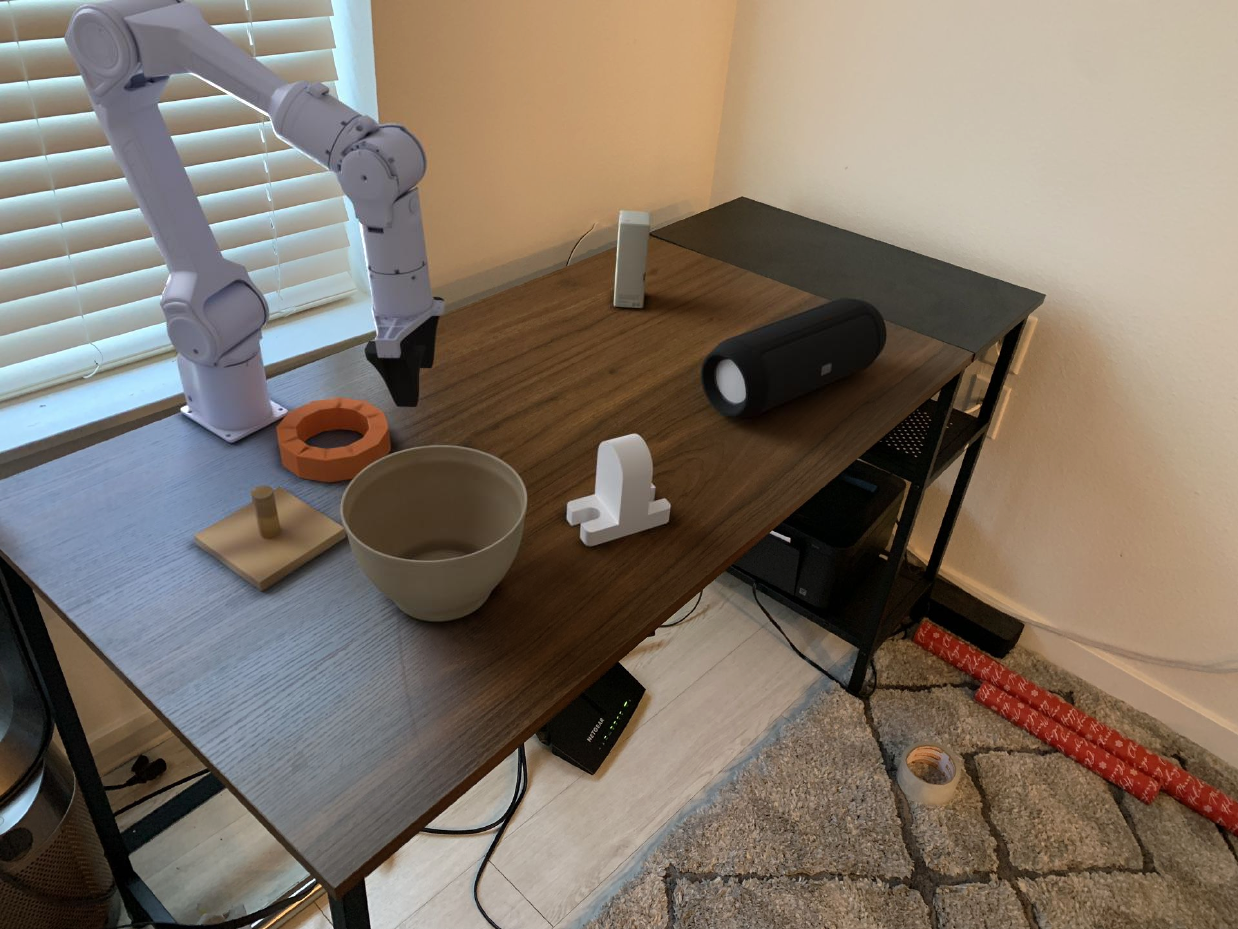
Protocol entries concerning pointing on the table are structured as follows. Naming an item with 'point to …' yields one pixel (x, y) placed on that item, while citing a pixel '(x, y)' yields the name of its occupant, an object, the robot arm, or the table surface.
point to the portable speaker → (792, 357)
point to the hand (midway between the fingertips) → (415, 385)
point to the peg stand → (269, 536)
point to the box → (631, 258)
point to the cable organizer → (619, 494)
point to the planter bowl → (435, 527)
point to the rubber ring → (335, 460)
